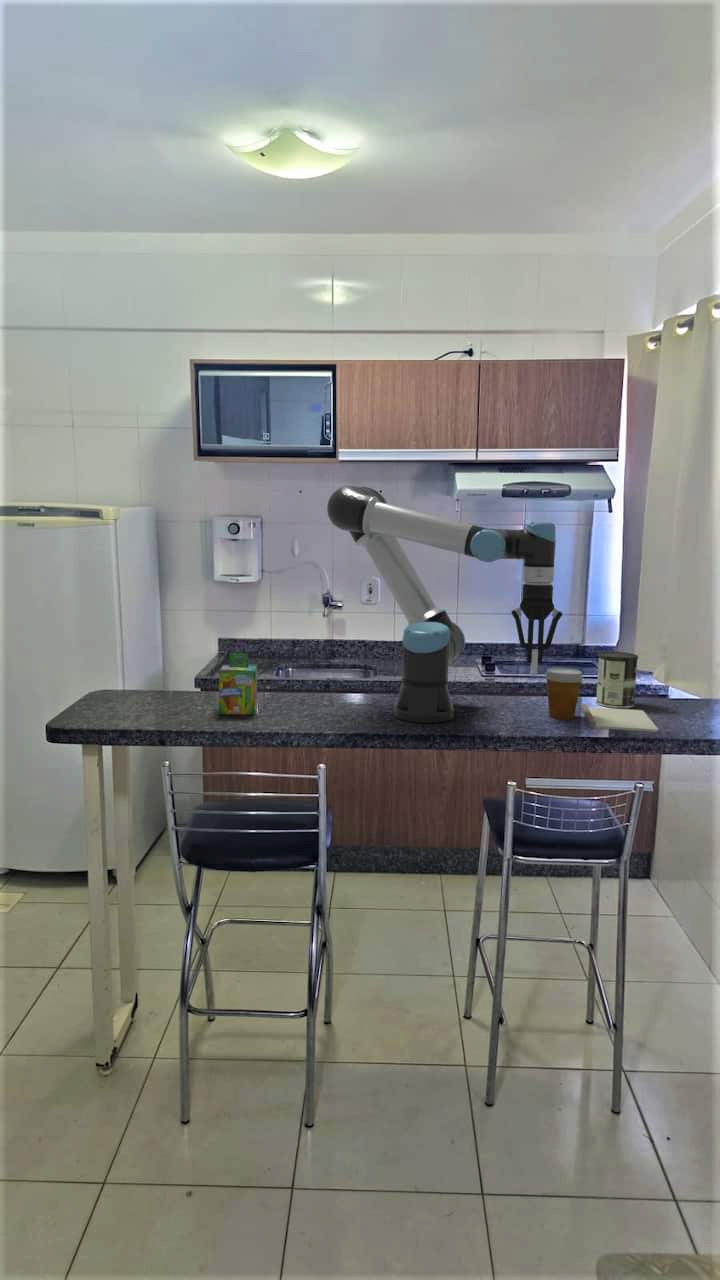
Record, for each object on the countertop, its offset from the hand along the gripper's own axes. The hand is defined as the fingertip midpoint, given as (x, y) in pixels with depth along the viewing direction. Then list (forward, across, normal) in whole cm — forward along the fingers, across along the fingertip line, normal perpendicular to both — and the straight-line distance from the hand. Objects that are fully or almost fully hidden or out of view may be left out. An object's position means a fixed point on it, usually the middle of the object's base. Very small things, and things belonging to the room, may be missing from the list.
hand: (533, 675), depth 205 cm
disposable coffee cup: (+11, +8, 0) cm, 13 cm away
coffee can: (+11, +24, +18) cm, 32 cm away
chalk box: (+10, -74, -14) cm, 76 cm away
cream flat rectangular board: (+11, +22, 0) cm, 24 cm away
